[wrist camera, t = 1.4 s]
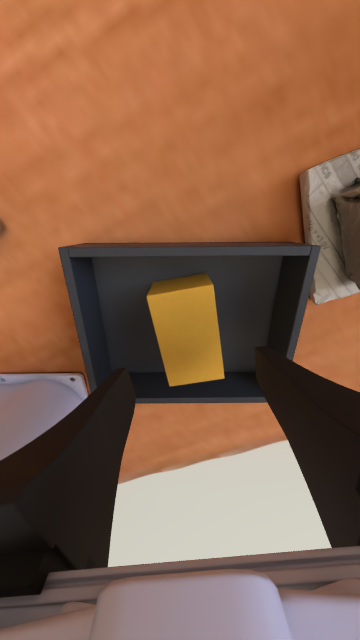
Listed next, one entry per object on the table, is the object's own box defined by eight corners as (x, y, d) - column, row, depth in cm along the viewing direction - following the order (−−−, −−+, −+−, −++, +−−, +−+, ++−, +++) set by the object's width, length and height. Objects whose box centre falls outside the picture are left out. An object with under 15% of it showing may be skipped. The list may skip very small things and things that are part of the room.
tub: (107, 374, 22) (93, 404, 18) (84, 243, 16) (57, 247, 13) (264, 373, 22) (282, 402, 18) (290, 241, 16) (321, 245, 13)
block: (171, 358, 20) (169, 387, 17) (152, 281, 17) (146, 296, 14) (216, 351, 20) (224, 379, 16) (205, 272, 17) (213, 284, 13)
